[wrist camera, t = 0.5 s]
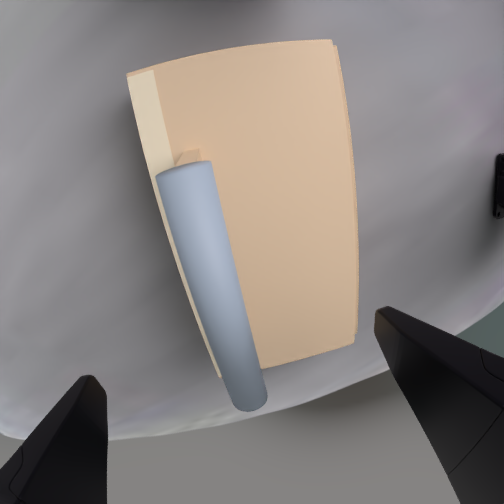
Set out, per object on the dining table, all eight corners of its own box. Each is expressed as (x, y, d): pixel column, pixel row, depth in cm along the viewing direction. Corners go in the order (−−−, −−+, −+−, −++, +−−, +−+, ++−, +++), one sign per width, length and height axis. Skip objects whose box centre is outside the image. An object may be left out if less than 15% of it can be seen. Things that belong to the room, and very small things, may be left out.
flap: (327, 41, 12) (406, 7, 6) (351, 338, 20) (392, 409, 14) (128, 75, 11) (71, 49, 5) (218, 372, 19) (228, 456, 14)
